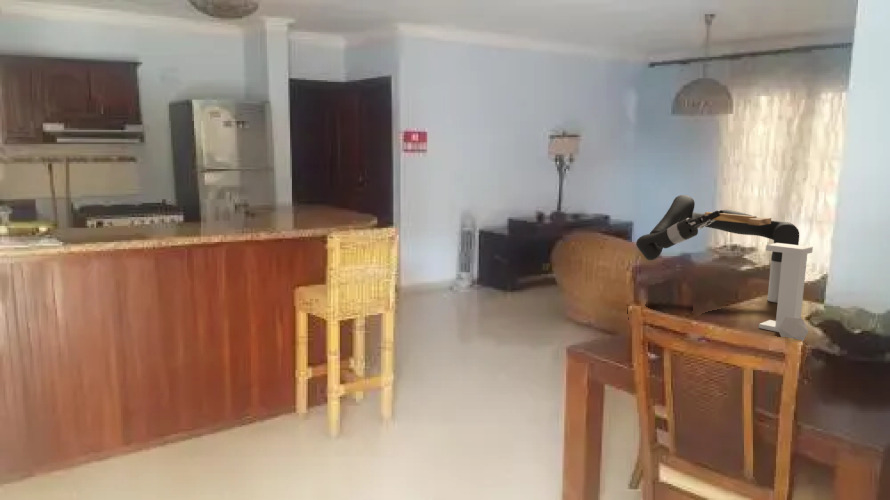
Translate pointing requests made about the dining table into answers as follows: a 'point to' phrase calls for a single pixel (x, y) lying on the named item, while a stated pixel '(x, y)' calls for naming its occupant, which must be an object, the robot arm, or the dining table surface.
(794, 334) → the die
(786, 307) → the i beam
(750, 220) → the t bar
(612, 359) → the dining table surface
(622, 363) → the dining table surface
